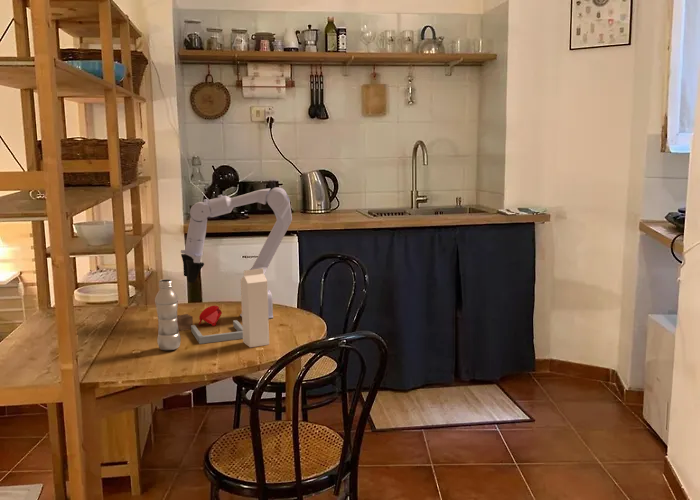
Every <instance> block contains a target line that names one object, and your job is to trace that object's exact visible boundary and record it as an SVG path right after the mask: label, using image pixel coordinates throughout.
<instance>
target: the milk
mask: <svg viewBox="0 0 700 500" xmlns="http://www.w3.org/2000/svg"><path fill="white" fill-rule="evenodd" d="M268 290H269V289H268V279H267V278H266V275H265V274H263V269H253V270H250V269H246V270H243V276H242V277H241V279H240V295H241V296H240V297H241V299H240V300H241V314H242V317H241V319H242V320H241V325H242V327H243V339H242V342H243V343H244V344H245V345H246V346H248V347H249V348H255V347H261V346H269V345H270V329H269V328H270V327H269V326H270V325H269V322H270V321H269V319H270V318H268Z"/></svg>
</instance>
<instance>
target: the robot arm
mask: <svg viewBox="0 0 700 500" xmlns="http://www.w3.org/2000/svg"><path fill="white" fill-rule="evenodd" d="M290 200H291V198H290V197H289V195H288V193H287V191H286V190H285V189H284V188H282V187H280V186H279V187H278V186H277V187H275V186H274V187H273V188H272V189H271V188H263V189H258V190H254V191H251V192H248V193H245V194H241V195H237V196H234V197H230V196H227V195H223V194H219V195H217V197H215V198H211V199H207V198H206V199H205V198H204V199H203V201H197V202H196V203H194V204H193V205H192V206H191V207H190V209H189V216H190V218H189V223H188V229H187V234H186V240H185V247H184V249H181V250H180V255H181V260H182V265H183V276H184V277H187V282H188V283H191V284H193V283H196V281H197V278H198V276H199V274H200V271H201V270H202V268H203V267H204V265H205V263H204V262H203V261H202V262H201V259H202V258H203V256H204V253H203V252H204V248H205V247H204V245H205V241H206V235H207V229H208V228H207V227H208V225H207V223H208V218H215V217H219V216H223V215H227V214H230V213H231V212H232V211H233V209H234V208H236V207H238V208H239V207H241V206H242V207H243V206H245V205H250V204H254V203H258V204H262V205H266V204H268V206H269V207H270V208H271V210H272V211H273V214H274V216H275V219H276V221H275V223H274V225H273V227H272V229H271V231H270V233H269V234H268V236H267V239H266V240H265V242H264V244H263V246H262V248H261V250H260V251H259V254H258V256H257V258H256V259H255V260H254V263H253V265H252V266H251V268H249V270H253V269H263V274H264V275H265V274H266V272H267V269H268V267H269V266H270V263H271V262H272V260H273V258H274V256H275V254H276V252H277V250H278V249H279V247H280V245H281V243H282V240H283V238H284V237H285V235H286V233H287V231H288V229H289V227H290V225H291V224H292V221H293V215H292V207H291V201H290ZM273 306H274V305H273V295H272V292H271V290H270V289H268V319H273V318H274V312H273V310H274V309H273ZM239 316H240V317H241V318H242V313H240V314H239Z"/></svg>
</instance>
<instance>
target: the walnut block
mask: <svg viewBox="0 0 700 500" xmlns="http://www.w3.org/2000/svg"><path fill="white" fill-rule="evenodd" d="M177 323H178V330H179V332H180V331H181V332H182V331H187V330H191V325H194V322H193V316H192V315H190V314H188V313H185V314H179V315H178V314H177Z"/></svg>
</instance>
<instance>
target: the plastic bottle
mask: <svg viewBox="0 0 700 500" xmlns="http://www.w3.org/2000/svg"><path fill="white" fill-rule="evenodd" d="M158 288H159V290H158V292H157V293H156V294H155V295H156V296H155V297H154V303H155V308H156V313H157V321H158V325H157V327H158V329H157V330H158V334H157V339H156V341H157V346H158V348H159V349H160V350H162V351H174V350H177V349H178V348H179V347H180V346H181V335H180V330H178V323H177V316H178V307H179V306H178V304H179V297H178V295H177V294H176V292H175V290H174V289H173V280H172V279H170V278H169V279H167V278H166V279H159V281H158Z"/></svg>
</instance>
